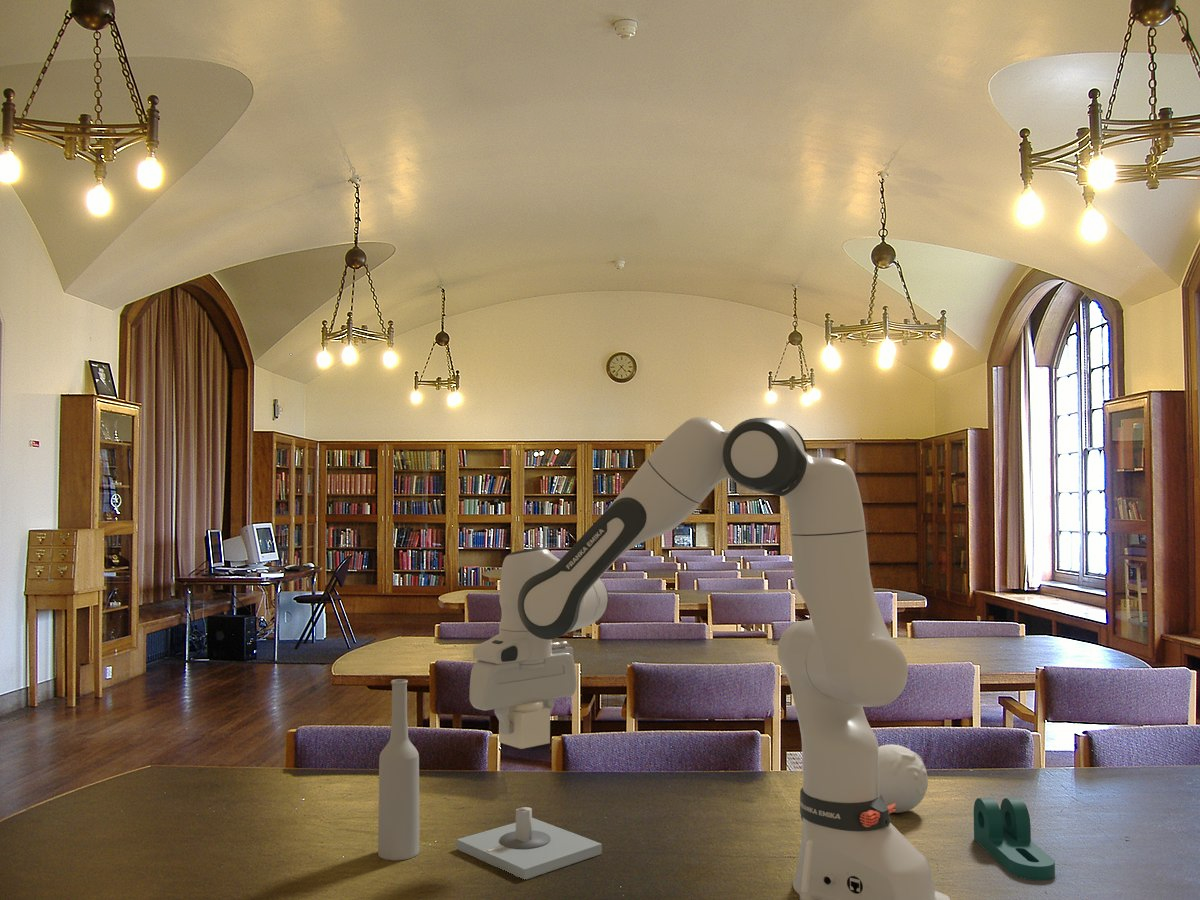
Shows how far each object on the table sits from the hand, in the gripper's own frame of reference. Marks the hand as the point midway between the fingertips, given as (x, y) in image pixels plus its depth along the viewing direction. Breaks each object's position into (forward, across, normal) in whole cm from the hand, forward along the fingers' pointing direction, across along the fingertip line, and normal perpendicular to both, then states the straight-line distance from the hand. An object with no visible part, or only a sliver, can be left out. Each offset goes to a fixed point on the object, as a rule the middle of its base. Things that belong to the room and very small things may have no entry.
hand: (524, 729), depth 164 cm
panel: (+20, 0, +1) cm, 20 cm away
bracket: (+19, -55, +57) cm, 82 cm away
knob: (+2, 0, 0) cm, 2 cm away
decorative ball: (+19, -62, +31) cm, 72 cm away
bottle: (+20, +16, -13) cm, 29 cm away
